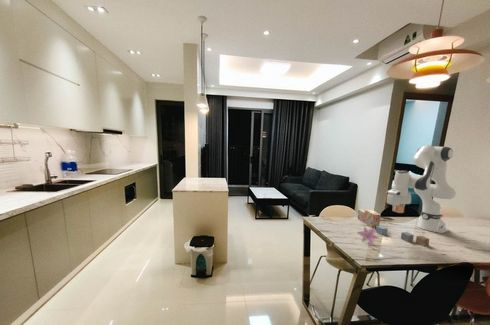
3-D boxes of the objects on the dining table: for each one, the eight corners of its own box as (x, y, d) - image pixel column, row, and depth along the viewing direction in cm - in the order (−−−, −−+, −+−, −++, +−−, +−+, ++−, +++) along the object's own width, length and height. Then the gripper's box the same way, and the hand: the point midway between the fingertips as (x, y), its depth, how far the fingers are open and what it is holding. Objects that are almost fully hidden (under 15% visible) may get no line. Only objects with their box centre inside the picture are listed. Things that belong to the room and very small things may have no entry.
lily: (354, 238, 149) (355, 230, 144) (365, 231, 152) (366, 222, 147) (369, 250, 139) (371, 242, 134) (380, 242, 142) (383, 234, 137)
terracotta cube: (397, 210, 154) (397, 204, 153) (403, 212, 149) (404, 206, 149) (392, 210, 153) (392, 204, 152) (398, 212, 148) (399, 206, 147)
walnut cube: (420, 242, 146) (421, 235, 145) (428, 245, 141) (429, 238, 140) (415, 242, 144) (416, 236, 144) (423, 246, 139) (424, 239, 139)
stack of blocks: (357, 218, 189) (358, 206, 188) (363, 218, 189) (365, 206, 188) (372, 228, 168) (373, 214, 166) (379, 228, 168) (380, 214, 167)
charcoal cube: (405, 238, 151) (406, 231, 151) (412, 241, 146) (413, 234, 146) (400, 238, 150) (401, 232, 149) (407, 241, 145) (408, 235, 144)
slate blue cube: (381, 231, 161) (381, 225, 161) (386, 234, 156) (387, 228, 156) (376, 232, 160) (376, 226, 159) (381, 234, 155) (382, 228, 155)
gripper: (406, 190, 155) (404, 207, 156) (385, 191, 150) (383, 208, 151) (414, 192, 149) (412, 210, 150) (394, 193, 144) (391, 211, 145)
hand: (398, 209), depth 151 cm, fingers closed on terracotta cube, 5 cm apart
